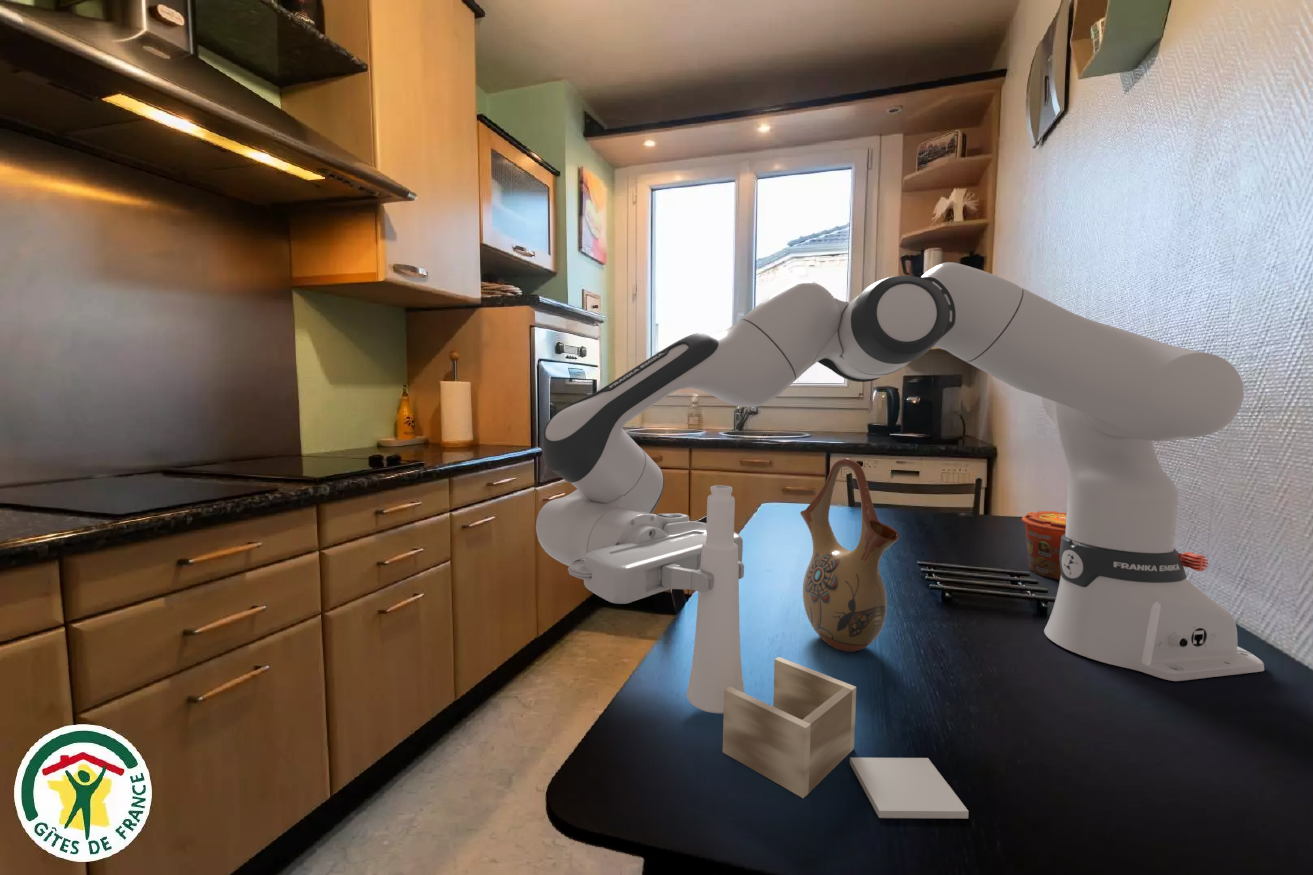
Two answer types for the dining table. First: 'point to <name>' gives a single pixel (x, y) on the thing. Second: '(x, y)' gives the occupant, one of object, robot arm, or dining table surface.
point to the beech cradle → (792, 727)
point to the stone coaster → (907, 788)
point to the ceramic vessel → (846, 571)
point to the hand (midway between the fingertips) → (725, 577)
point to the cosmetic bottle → (717, 610)
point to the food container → (1044, 542)
